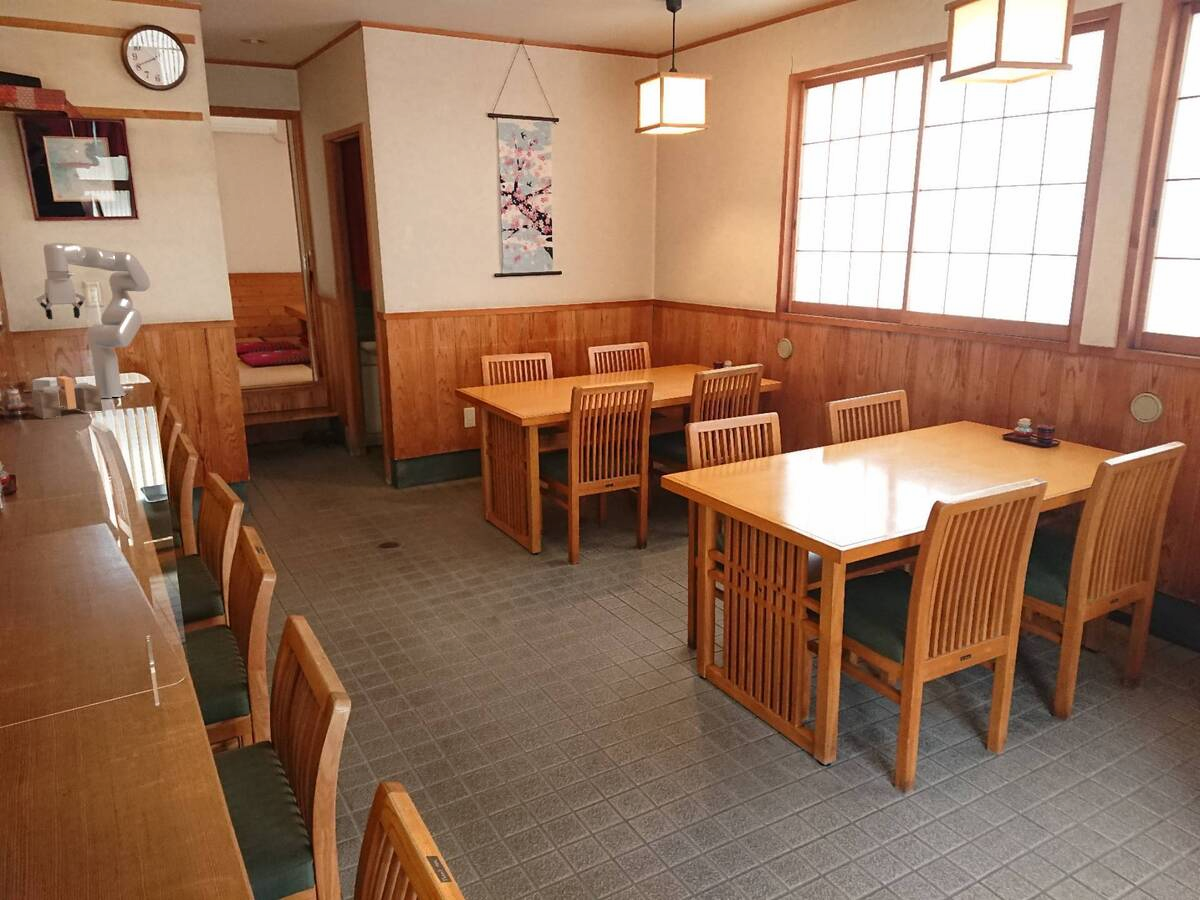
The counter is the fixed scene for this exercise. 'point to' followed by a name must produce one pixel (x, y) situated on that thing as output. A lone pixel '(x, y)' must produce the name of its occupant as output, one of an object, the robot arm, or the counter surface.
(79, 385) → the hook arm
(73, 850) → the counter surface
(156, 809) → the counter surface
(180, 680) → the counter surface
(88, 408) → the shelf
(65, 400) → the orange wooden block
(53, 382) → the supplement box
